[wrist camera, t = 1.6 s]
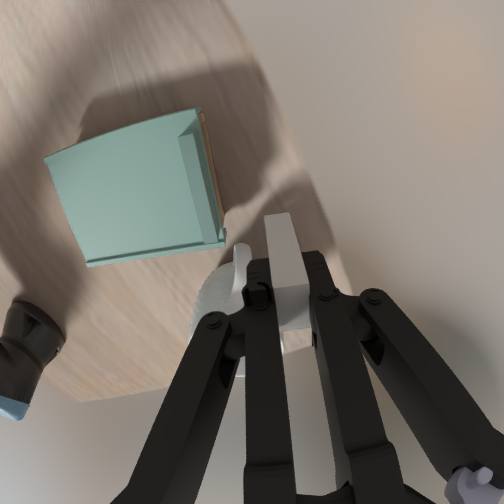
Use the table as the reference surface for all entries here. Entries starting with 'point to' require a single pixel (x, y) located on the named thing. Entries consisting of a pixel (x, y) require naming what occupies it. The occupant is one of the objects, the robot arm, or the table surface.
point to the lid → (140, 190)
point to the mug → (225, 293)
